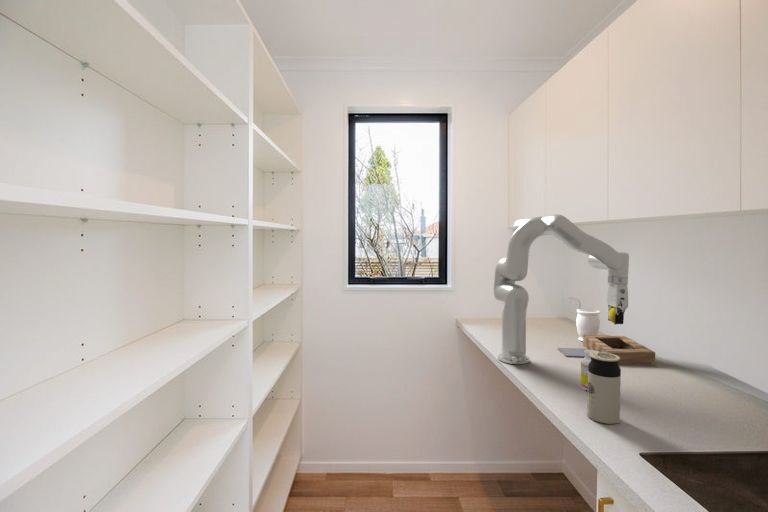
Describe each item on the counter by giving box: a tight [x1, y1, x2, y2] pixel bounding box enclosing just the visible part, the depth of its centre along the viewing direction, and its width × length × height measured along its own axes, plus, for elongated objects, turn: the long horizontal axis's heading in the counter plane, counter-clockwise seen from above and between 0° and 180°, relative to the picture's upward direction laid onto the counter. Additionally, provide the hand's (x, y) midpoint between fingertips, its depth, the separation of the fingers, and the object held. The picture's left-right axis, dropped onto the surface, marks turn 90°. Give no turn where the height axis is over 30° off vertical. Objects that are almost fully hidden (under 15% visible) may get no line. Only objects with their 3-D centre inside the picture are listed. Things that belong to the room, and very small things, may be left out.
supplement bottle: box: [580, 349, 599, 392], centre depth 132 cm, size 7×7×13 cm
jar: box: [575, 308, 601, 342], centre depth 193 cm, size 11×10×15 cm
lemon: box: [608, 307, 620, 326], centre depth 169 cm, size 6×6×8 cm
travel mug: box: [586, 352, 622, 425], centre depth 110 cm, size 8×8×18 cm
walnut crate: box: [582, 334, 656, 366], centre depth 170 cm, size 26×18×5 cm
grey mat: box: [557, 347, 588, 358], centre depth 172 cm, size 12×12×1 cm
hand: (615, 321), depth 169 cm, fingers closed on lemon, 5 cm apart
